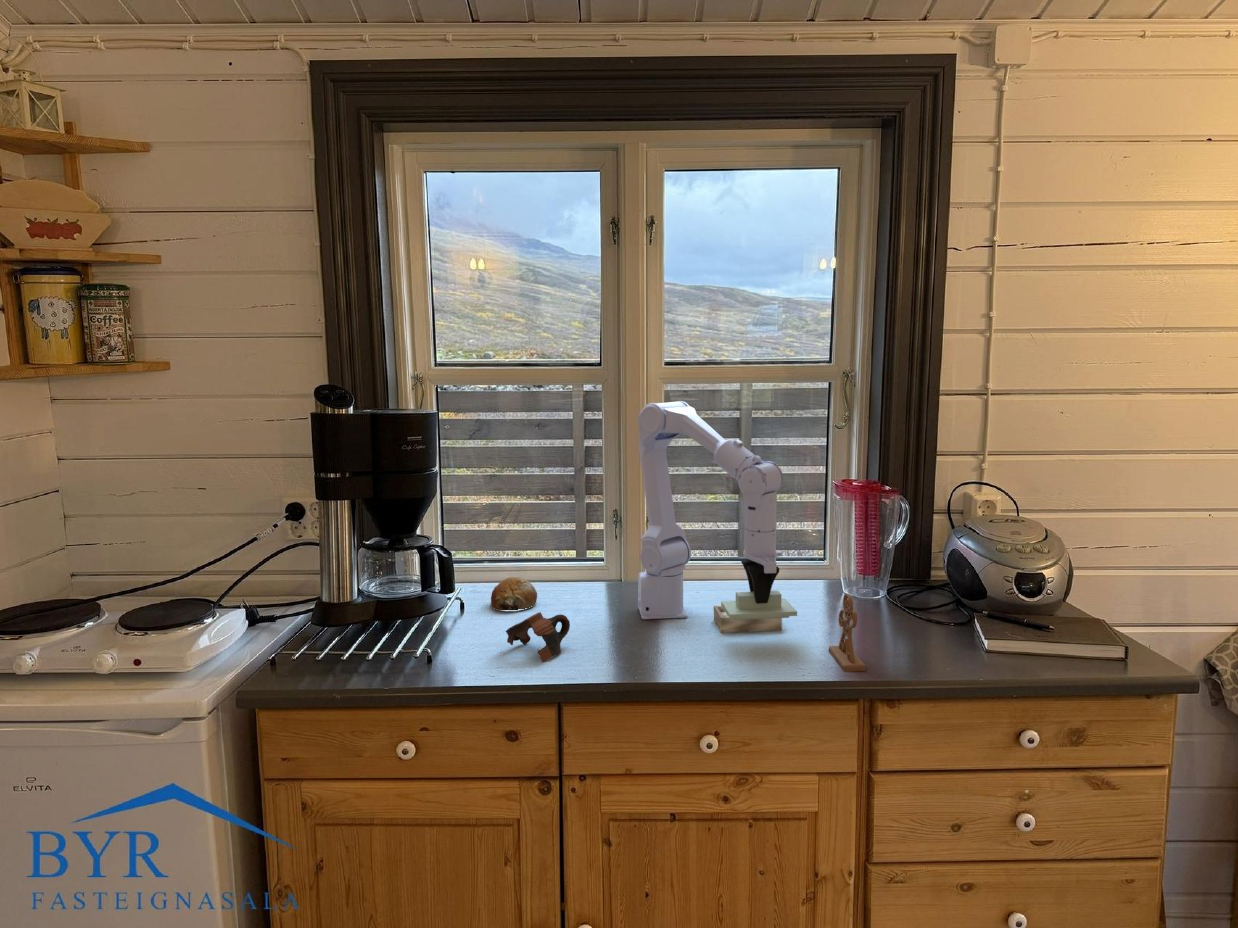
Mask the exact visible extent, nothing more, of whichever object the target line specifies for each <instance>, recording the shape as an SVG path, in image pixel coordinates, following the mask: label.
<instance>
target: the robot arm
mask: <svg viewBox="0 0 1238 928" xmlns="http://www.w3.org/2000/svg"><path fill="white" fill-rule="evenodd" d="M696 411H697V410H696V409H695V408H694V407H693V406H690V405H689V404H688V403H687V402H686V401H682V400H676V401H669V402H657V403H656V402H650V403H647V404H645V405H644V406H643V407H642V409H641V411H640V412H639V413H638V415H637V417H636V418H637V425H638V426H637V427H638V432H639V433H638V435H639V436H638V450H639V458H640V466H641V473H642V482H643V488H644V495H645V504H646V510H647V511H646V512H647V517H648V518H647V519H648V524H649V527H648V528H647V530H646V531H645V533H644V534H643V535H642V536H641V541H640V542H641V550H640V555H639V556H640V563H641V565H642V567H643V568H644V570H645V571H641V572H639V573H638V574H637V575H638V577H637V579H638V580H637V584H638V585H637V592H638V593H637V594H638V598H637V606H638V610H639V611H638V612H639V614H640V617H641V619H642V620H659V619H660V620H661V619H677V618H679V619H681V618H683V619H684V618H685V619H686V618H688V616H689V614H688V612H687V610H686V609H685V607H684V571H685V570H686V565H687V564H688V563H689V561H690V560H691V555H692V550H691V549H692V548H691V546H690V544H689V542H688V540H687V538H686V531H685V530H684V529H683V528H682V527H681V526H679V525H678V524H677V523H676V522H677V521H676V516H675V515H676V514H675V507H674V499H673V493H672V485H671V479H670V471H669V466H668V465H669V464H668V463H669V462H668V457H667V448H668V447H669V445H670V444H671V443H672V441H673V440H674V439H676V438H677V437H679V436H680V435H681V434H683V435H686V437H689V438H690V439H692V440H693V441H695V442H696V443H697V444H699V445H700V446H701V447H703V448H704V449H706V450H708V451H709V452H710V453H712V454H713V460H714V463H715V464H716V465H717V466H718V467H719V468H721V469H722V470H723V471H724V472H725V473H727V474H728V475H729V476H731V477H732V478H733V479H734V480H736V482H737V484H738V488H739V490H740V491H741V494H742V497H743V498H742V499H743V500H742V502H743V503H744V541H743V542H744V549H743V552H742V553H743V554H742V555H743V558H745V559H741V560H740V562H741V565H742V566H743V569H744V571H745V573H746V577H747V581H748V587H749V588H748V589H749V592H754V597H755V601H756V603H757V604H760V603H768V600H769V596H770V592H771V591H772V588H773V584H774V582H775V580H776V578H777V576H778V574H779V573H780V568H779V567H778V566H777V562H776V561H777V557H782V556H783V551H781V550H780V549H777V514H778V513H777V508H778V507H777V505H778V504H777V503H778V501H777V499H778V496H777V495H778V492H779V491H780V490H781V488H782V486H783V484H784V474H783V472H782V470H781V468H780V467H779V466H778V465H777V463H776V462H774V461H768V460H767V461H763V460H762V457H761V456H759V455H755V454H754V453H753V452H752V451H750V450H749V449H748V448H746V447H745V446H744V442H743V441H742V440H741V439H734V438H730V439H725V438H724V437H723V436H721V435H720V434H719V433H718V432H717V431H716V430H714V428H712V427H711V425H709V424H708V423H707V422H706V421H705V420H704V419H702V418H701V417H700V416H699V415H698V414H697V412H696Z"/></svg>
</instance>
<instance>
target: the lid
mask: <svg viewBox="0 0 1238 928" xmlns="http://www.w3.org/2000/svg"><path fill="white" fill-rule="evenodd" d="M720 603H721V604H720V606H722V607H723V609H724V610H725V612H726V613H727V615H728V617H729V618H730V619H734V620H749V619H770V618H782V619H788V618H790V617H796V616H798V610H796V609H795V607H793V605H792V604H791V603H790V602H789V601H788V600H787V599H786V598H782V593H781V592H780V591H779V590H771V592H770V596H769V600H768V603H760V604H757V603H756V601H755V597H754V592H750V591H739V592H738V591H737V592H736V591H735V600H722V601H721V602H720Z"/></svg>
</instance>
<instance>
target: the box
mask: <svg viewBox="0 0 1238 928" xmlns="http://www.w3.org/2000/svg"><path fill="white" fill-rule="evenodd" d="M713 621H714V623H715V625H716V626H717V628H718V630H719V632H720V633H740V632H741V633H742V632H743V633H744V632H745V633H746V632H765V631H769V632H770V631H782V627H783V626H782V625H783V618H770V619H749V620H734V619H730V618H729V617H728V615H727V613H726V612H725V610H724V609H723V607H722V606H721V605H713Z"/></svg>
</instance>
